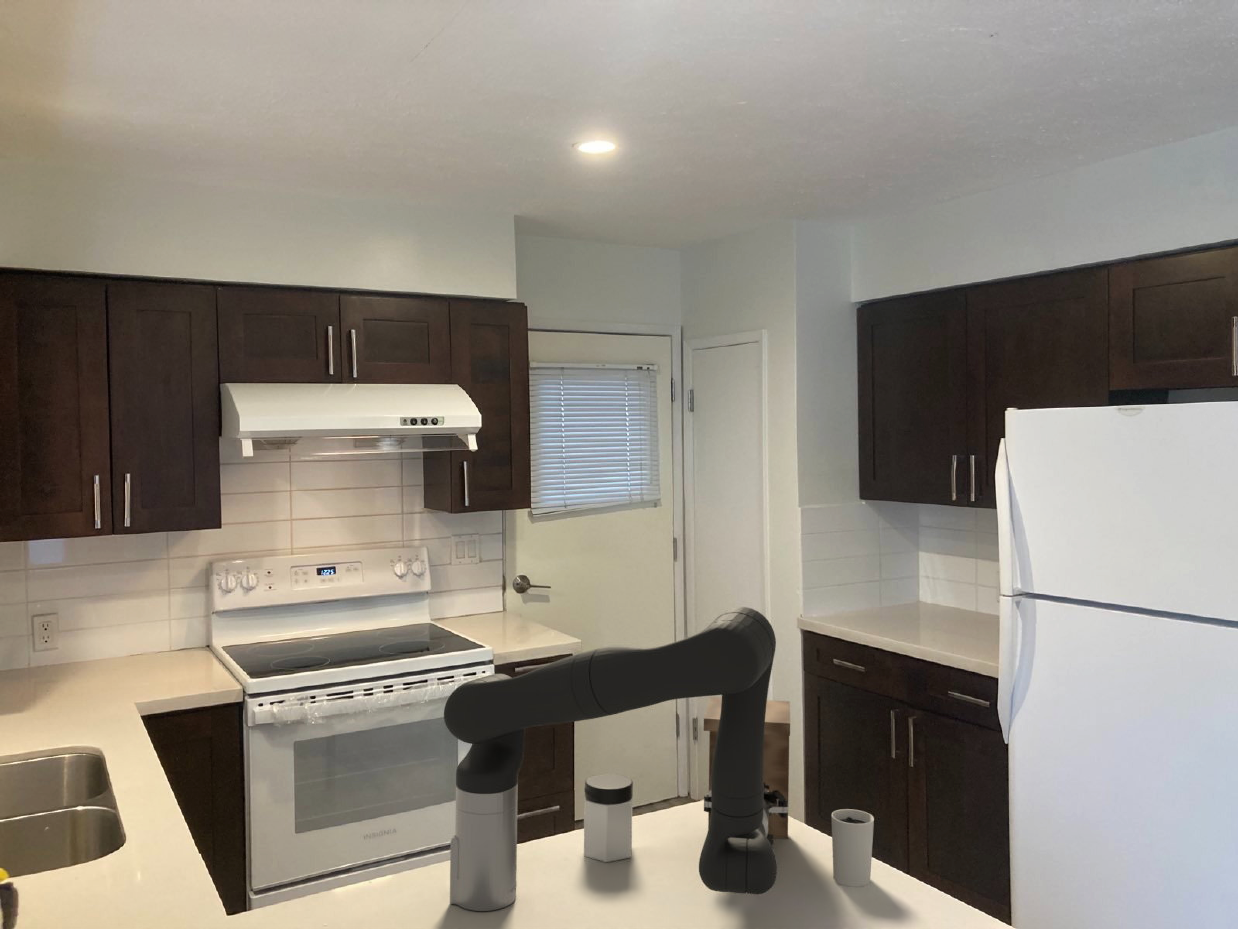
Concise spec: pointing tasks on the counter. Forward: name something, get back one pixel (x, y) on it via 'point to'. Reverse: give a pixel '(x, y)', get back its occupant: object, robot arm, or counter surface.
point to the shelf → (773, 754)
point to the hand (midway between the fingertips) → (748, 787)
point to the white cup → (852, 847)
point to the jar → (608, 817)
